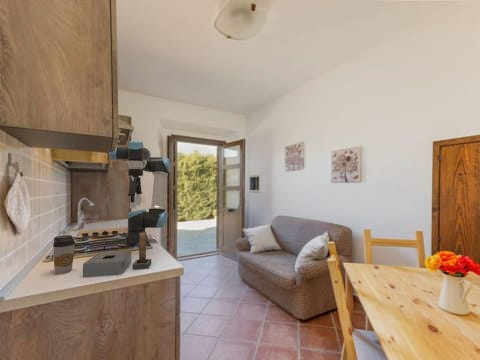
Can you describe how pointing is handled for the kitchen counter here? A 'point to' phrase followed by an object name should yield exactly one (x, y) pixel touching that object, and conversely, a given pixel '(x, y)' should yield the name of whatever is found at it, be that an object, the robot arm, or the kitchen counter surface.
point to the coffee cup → (63, 255)
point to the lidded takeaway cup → (61, 238)
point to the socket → (141, 265)
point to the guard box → (107, 264)
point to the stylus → (142, 247)
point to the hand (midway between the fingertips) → (135, 206)
